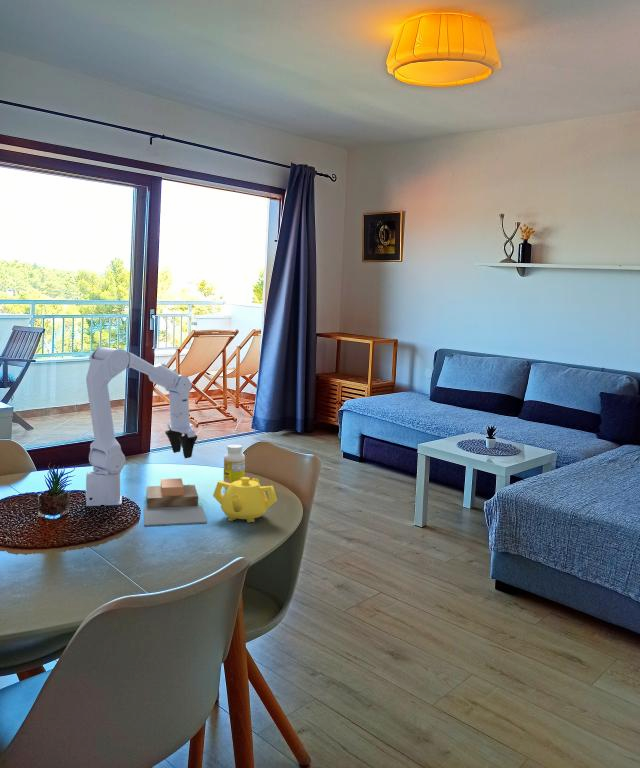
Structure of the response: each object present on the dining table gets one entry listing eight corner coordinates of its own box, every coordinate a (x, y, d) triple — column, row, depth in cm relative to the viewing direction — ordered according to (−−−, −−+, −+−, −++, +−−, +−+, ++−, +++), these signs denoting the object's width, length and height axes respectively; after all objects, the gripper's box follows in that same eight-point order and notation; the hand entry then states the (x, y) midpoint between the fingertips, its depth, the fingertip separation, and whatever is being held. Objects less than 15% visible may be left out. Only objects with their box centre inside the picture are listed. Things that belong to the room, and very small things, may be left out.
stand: (147, 508, 193) (147, 498, 193) (146, 496, 205) (146, 486, 204) (198, 506, 197) (198, 496, 196) (194, 494, 208) (194, 484, 208)
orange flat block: (161, 496, 195) (162, 487, 195) (160, 487, 204) (160, 479, 204) (183, 495, 197) (183, 486, 196) (181, 486, 205) (181, 478, 205)
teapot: (265, 533, 178) (267, 490, 176) (199, 525, 181) (200, 484, 180) (285, 509, 197) (286, 471, 196) (225, 503, 200) (226, 466, 199)
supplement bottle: (221, 483, 221) (222, 443, 220) (242, 482, 223) (243, 443, 222) (225, 489, 215) (226, 448, 213) (246, 488, 217) (247, 447, 215)
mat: (144, 526, 179) (144, 524, 179) (143, 509, 192) (143, 508, 192) (206, 523, 183) (206, 521, 183) (201, 507, 197) (201, 505, 197)
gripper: (202, 414, 211) (204, 457, 214) (180, 406, 222) (183, 447, 225) (181, 418, 207) (184, 462, 209) (160, 410, 218) (163, 451, 221)
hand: (182, 454), depth 217 cm, fingers open, 7 cm apart
